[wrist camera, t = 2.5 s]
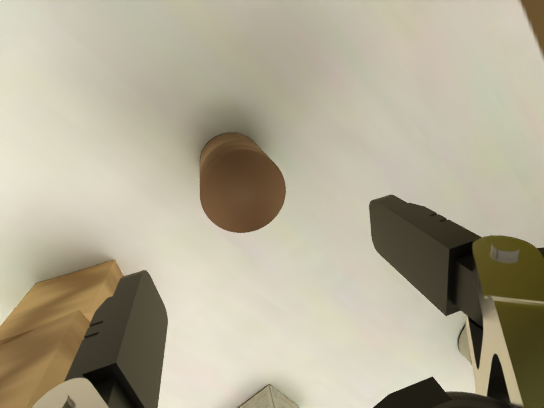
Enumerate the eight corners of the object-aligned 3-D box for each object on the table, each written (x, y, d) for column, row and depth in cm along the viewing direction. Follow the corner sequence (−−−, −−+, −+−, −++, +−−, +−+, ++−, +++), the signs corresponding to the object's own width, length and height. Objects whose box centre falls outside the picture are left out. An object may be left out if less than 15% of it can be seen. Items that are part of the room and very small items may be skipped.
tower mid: (78, 309, 18) (26, 407, 12) (132, 369, 20) (107, 472, 15) (-18, 352, 18) (-116, 472, 12) (48, 408, 20) (-8, 528, 15)
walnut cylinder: (254, 125, 22) (276, 141, 16) (268, 184, 24) (292, 219, 18) (191, 141, 22) (187, 164, 15) (210, 200, 24) (214, 242, 17)
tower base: (114, 259, 24) (89, 311, 18) (143, 315, 26) (129, 375, 21) (35, 283, 23) (-16, 345, 17) (73, 338, 25) (38, 407, 20)
